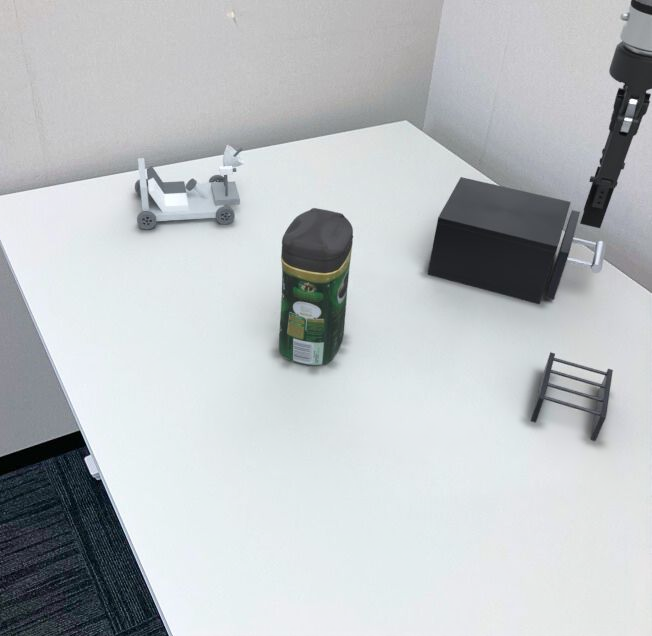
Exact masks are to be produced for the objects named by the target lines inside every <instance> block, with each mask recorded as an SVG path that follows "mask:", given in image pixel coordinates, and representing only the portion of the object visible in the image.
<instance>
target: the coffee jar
mask: <svg viewBox="0 0 652 636" xmlns="http://www.w3.org/2000/svg"><path fill="white" fill-rule="evenodd" d="M353 233H354V228H353V226H352V224H351V222H350V221H349V219H348V218H347V217H346V216H345V215H344V214H343V213H341V212H338V211H333V210H328V209H322V208H316V207H312V208H311V209H309V210H306V211H303V212H302V213H300V214H299V215H297V216H296V217H295V218H294V219H293V220H292V221H291V222H290V224H289V226H288V227H287V228H286V230H285V232H284V234H283V236H282V239H281V255H280V262H281V297H280V298H281V299H280V316H279V317H280V318H279V333H278V351H279V353H280V355H282V357H284V358H285V359H286V360H287V361H290V362H292V363H294V364H297V365H301V366H306V367H321V366H325V365H328V364H330V363H331V362H332V361H333V359H334V358H335V357H336V356H337V354H338V352H339V350H340V348H341V345H342V342H343V340H344V336H345V325H346V310H347V300H348V287H349V277H350V268H351V259H352V252H353V251H352V250H353V241H354V234H353Z"/></svg>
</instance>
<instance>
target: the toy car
mask: <svg viewBox="0 0 652 636" xmlns="http://www.w3.org/2000/svg"><path fill="white" fill-rule="evenodd" d="M243 150H244V149H243V148H242V147H240V148H239V149H238V150H236V149H235V148H234V147H232V146H231V145H228V144H226V147H225V149H224V152H223V156H222V166H221V165H220V166H218V168H219V174H214V175H212V176H210V178H209V179H208V182H198V181H197V180H196V179H195V178H191V179H189V180H188V181H187V183H185V181H184V180H181V181H163V180H162V178H161V177H160V176H159V174H158V173H157V172H156V170H155V168H154V167H153V166H148V168H146V164H145V158H144V157H140V158H139V157H138V158H137V164H138V176H139V177H138V178H139V179H138V180H136V181H135V183H134V192H135V193H136V194H137V195H138V196H140V199H141V210H142V211H141V212H139V213H138V215H137V216H136V223H137V225H138V226H139V228H140V229H142V230H152V229H153V228H154V227H155V226H156V225H157V223H158V222H166V221H168V222H169V221H180V220H184V221H185V220H197V219H199V220H200V219H215V220H216V221H217V222H218V223H219V224H221V225H223V226H224V225H230V224H232V223H233V222H234V220H235V217H236V215H235V211H234V209H233V208H232V207H231V206H237V205H241V198H240V194H239V190H238V188H237V184H236V181H228V176H229V175H234V173H237V168H236V167H241V166H243V165H245V160H244V159H243V157H242V156H241V154H240V153H241V152H242V151H243Z"/></svg>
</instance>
